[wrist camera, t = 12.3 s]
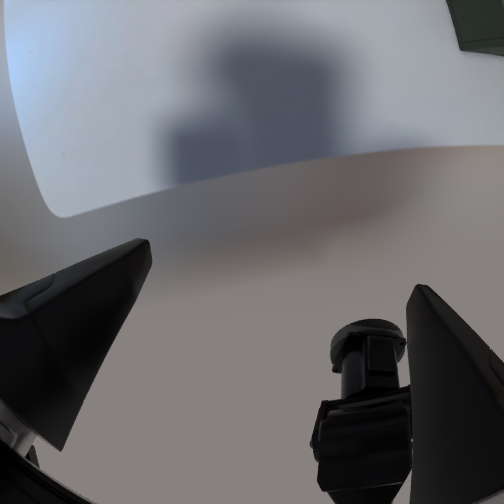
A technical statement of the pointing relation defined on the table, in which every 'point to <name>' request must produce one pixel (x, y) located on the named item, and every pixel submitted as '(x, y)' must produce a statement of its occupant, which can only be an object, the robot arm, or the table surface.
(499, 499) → the robot arm
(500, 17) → the bin
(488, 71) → the table surface
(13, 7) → the table surface
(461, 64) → the table surface
